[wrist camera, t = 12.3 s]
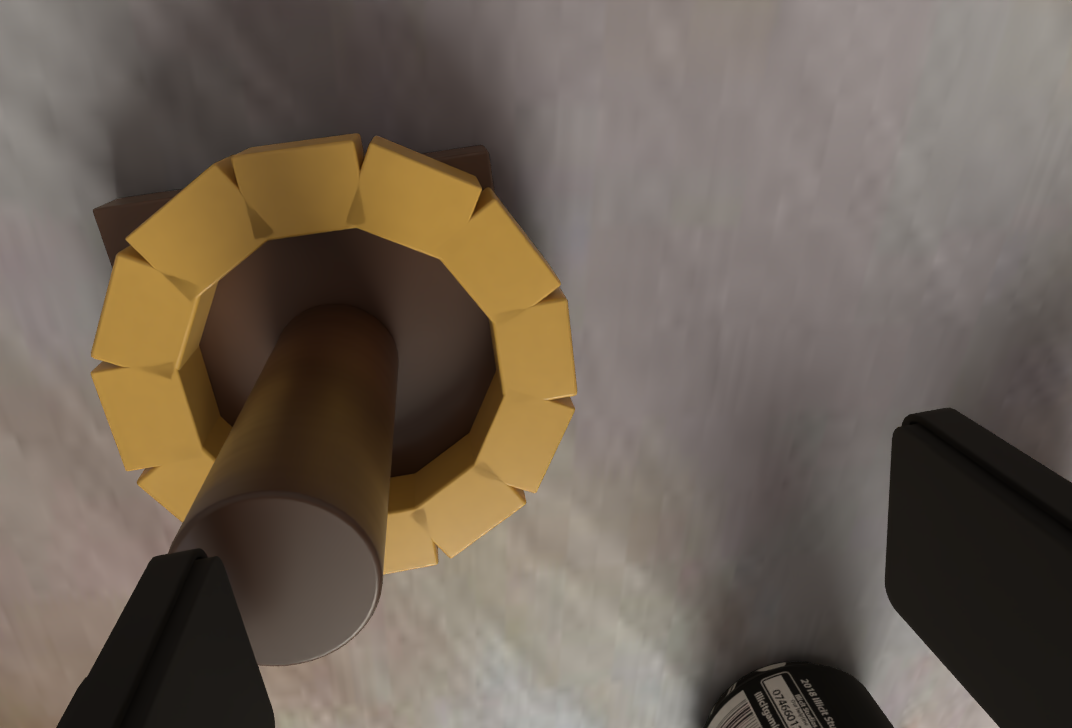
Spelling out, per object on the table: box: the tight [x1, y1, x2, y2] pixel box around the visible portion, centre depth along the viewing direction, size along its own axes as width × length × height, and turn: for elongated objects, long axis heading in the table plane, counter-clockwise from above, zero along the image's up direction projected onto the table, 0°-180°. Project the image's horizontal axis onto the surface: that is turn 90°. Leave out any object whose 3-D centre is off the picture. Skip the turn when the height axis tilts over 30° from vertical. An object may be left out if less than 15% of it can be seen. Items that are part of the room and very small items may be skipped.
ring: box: [91, 133, 577, 574], centre depth 18 cm, size 11×11×2 cm
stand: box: [93, 145, 496, 666], centre depth 16 cm, size 9×9×10 cm
